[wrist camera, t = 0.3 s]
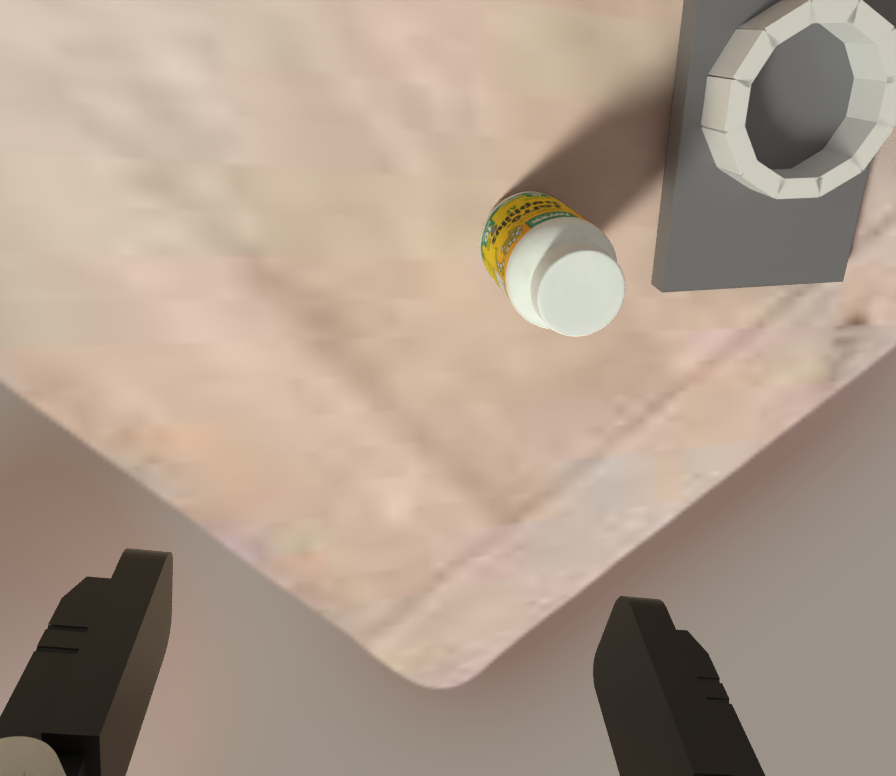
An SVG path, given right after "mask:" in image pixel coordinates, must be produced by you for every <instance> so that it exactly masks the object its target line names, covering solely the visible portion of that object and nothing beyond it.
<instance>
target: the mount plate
mask: <svg viewBox="0 0 896 776" xmlns="http://www.w3.org/2000/svg"><path fill="white" fill-rule="evenodd" d="M895 124H896V0H684V4H683V13H682V22H681V30H680V39H679V48H678V56H677V65H676V74H675V83H674V91H673V100H672V109H671V118H670V126H669V135H668V144H667V153H666V161H665V170H664V179H663V188H662V196H661V205H660V214H659V222H658V231H657V240H656V249H655V257H654V266H653V275H652V285H653V286H655V287H656V288H657V289H658V290H660V291H661V292H677V291H693V290H710V289H726V288H743V287H760V286H776V285H793V284H809V283H826V282H842V281H843V279H844V275H845V270H846V266H847V262H848V257H849V253H850V249H851V244H852V240H853V235H854V231H855V227H856V222H857V218H858V214H859V209H860V205H861V200H862V196H863V192H864V187H865V183H866V179H867V174H868V170H869V165H870V161H871V159H872V158H873V157H874V155H875V154H876V153H877V151H878V150H879V148H880V147H881V146H882V144H883V143H884V142H885V140H886V139H887V137H888V136H889V135H890V133H891V132H892V130H893V129H894V128H892V127H891V126H895Z"/></svg>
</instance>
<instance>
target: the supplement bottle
mask: <svg viewBox="0 0 896 776" xmlns="http://www.w3.org/2000/svg"><path fill="white" fill-rule="evenodd" d="M479 247H480V255H481V258H482V261H483V264H484V266H485V267H486V269H487V271H488V272H489V274H490V275H491V276H492V278H493V279H494V280H495V282H496V283H497V285H498V286H499V287H500V289H501V290H502V291H503V293H504V294H505V296H506V297H507V298H508V300H509V301H510V303H511V304H512V305H513V307H514V308H515V309H516V310H517V312H518V313H519V314H520V315H521V316H522V317H523V318H525V319H526V320H527V321H529V322H530V323H532V324H534V325H536V326H539V327H542V328H546V329H552V330H554V331H556V332H558V333H560V334H562V335H566V336H573V337H579V336H585V335H589V334H592V333H594V332H597V331H599V330H600V329H602V328H603V327H605V326H606V325H607V324H609V323H610V322H611V321H612V319H613V318H614V317H615V316H616V314H617V313H618V311H619V309H620V308H621V305H622V303H623V300H624V295H625V279H624V275H623V273H622V270H621V268H620V266H619V265H618V264H617V258H616V254H615V251H614V248H613V246H612V244H611V242H610V241H609V239H608V238H607V236H606V235H605V234H604V233H603V232H602V231H601V230H600V229H599V228H598V227H596V226H595V225H594V224H592V223H591V222H589V221H588V220H586V219H585V218H584V217H582V216H581V215H579V214H578V213H577V212H575V211H574V210H572V209H571V208H569V207H568V206H567V205H565V204H564V203H562V202H561V201H559V200H558V199H556V198H554V197H552V196H550V195H548V194H545V193H541V192H535V191H525V192H520V193H516V194H514V195H512V196H510V197H508V198H506V199H504V200H503V201H501V202H500V203H499V204H498V205H497V206H496V207H495V208H494V209H493V210H492V211H491V212H490V214H489V215H488V217H487V219H486V221H485V224H484V226H483V229H482V232H481V236H480V246H479Z"/></svg>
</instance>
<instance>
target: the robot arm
mask: <svg viewBox="0 0 896 776" xmlns="http://www.w3.org/2000/svg"><path fill="white" fill-rule="evenodd" d="M172 575H173V557H172V553H171V552H161V551H151V550H139V549H129V548H127V549H125V550H124V552H123V554H122V556H121V558H120V560H119V562H118V564H117V567H116V569H115V571H114V573H113V575H112V578H111V579H109V578H97V577H86V578H85V579H84V580H82V581H81V582H80V583H79V584H78V585H76V586H75V587H74V588H73V589H72V590H71V591H70V592H68V594H66V595H65V596H64V597H63V598H62V599H61V601H60V603H59V605H58V607H57V608H56V610H55V612H54V614H53V616H52V618H51V620H50V622H49V624H48V628H47V630H45V632H44V634H43V635H42V637H41V639H40V641H39V643H38V645H37V650H36V651H34V653H33V655H32V657H31V659H30V661H29V662H28V664H27V667H26V668H25V670H24V672H23V674H22V676H21V678H20V680H19V682H18V684H17V686H16V687H15V689H14V691H13V693H12V695H11V697H10V699H9V701H8V703H7V705H6V707H5V709H4V711H3V713H2V715H1V716H0V776H125V775H126V772H127V769H128V766H129V763H130V760H131V757H132V754H133V751H134V747H135V745H136V741H137V738H138V735H139V732H140V729H141V726H142V723H143V720H144V717H145V714H146V711H147V708H148V705H149V702H150V699H151V695H152V692H153V689H154V686H155V683H156V680H157V677H158V674H159V671H160V668H161V665H162V662H163V659H164V655H165V652H166V648H167V644H168V639H169V634H170V627H171V616H172ZM593 678H594V686H595V690H596V694H597V697H598V701H599V704H600V707H601V711H602V715H603V718H604V722H605V725H606V728H607V732H608V736H609V739H610V742H611V746H612V749H613V753H614V756H615V760H616V763H617V767H618V770H619V773H620V776H765V774H764V772H763V770H762V768H761V766H760V764H759V761H758V759H757V757H756V755H755V753H754V751H753V748H752V747H751V744H750V742H749V740H748V738H747V736H746V734H745V731H744V729H743V727H742V725H741V723H740V721H739V719H738V716H737V714H736V712H735V710H734V708H733V706H732V704H729V697H728V695H727V693H726V691H725V689H724V687H723V684H722V683H720V682H719V679H720V678H719V676H718V674H717V672H716V670H715V667H714V665H713V663H712V661H711V659H710V657H709V654H708V653H707V652H706V651H705V650H704V648H703V647H702V646H701V645H700V644H699V643H698V642H697V641H696V640H695V639H694V638H693V636H692V635H691V634H690V633H689V632H688V631H686V630H676V629H675V626H674V624H673V622H672V620H671V617H670V615H669V613H668V610H667V608H666V606H665V605H664V603H663V602H662V601H661V600H659V599H649V598H638V597H628V596H620V597H619V598H618V599H617V600H616V602H615V604H614V607H613V609H612V612H611V614H610V617H609V620H608V623H607V625H606V627H605V630H604V633H603V635H602V638H601V640H600V643H599V645H598V648H597V651H596V654H595V658H594V665H593Z"/></svg>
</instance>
